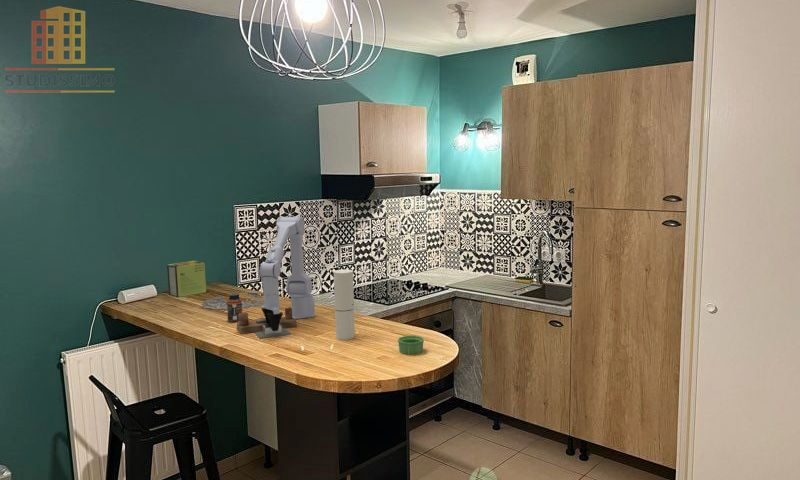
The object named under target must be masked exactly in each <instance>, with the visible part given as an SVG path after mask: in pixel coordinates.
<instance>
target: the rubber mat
mask: <svg viewBox="0 0 800 480" xmlns="http://www.w3.org/2000/svg"><path fill="white" fill-rule="evenodd" d="M254 334H255V335H256V336H257V337H258V338H259V339H267V338H268V339H269V338H274V337H280V336H288V335H289V336H290V335H292V332H290V330H288V328H283V329H282V333H280V334H273V335H266V336H265V335H264V334H263V332H262V331H261V332H254Z"/></svg>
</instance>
